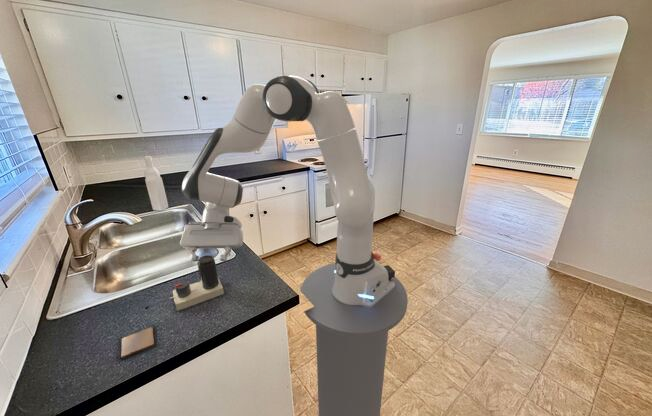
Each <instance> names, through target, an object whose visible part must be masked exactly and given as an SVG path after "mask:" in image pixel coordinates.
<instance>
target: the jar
mask: <svg viewBox="0 0 652 416" xmlns="http://www.w3.org/2000/svg"><path fill="white" fill-rule="evenodd" d="M196 265H197V269H198V274H199V279H200V281H201V283H202V288H203V289H206V290H209V289H213V288H215V287H217V286H218V284H219V281H220V279H219V280H218V278H219V275H218V270H217V265H216V259H215V258H214V257H213V256H212V255H209V254H208V255H203V256H200V257H199V259H198V261H197V262H196Z"/></svg>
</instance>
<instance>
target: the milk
mask: <svg viewBox="0 0 652 416" xmlns="http://www.w3.org/2000/svg"><path fill="white" fill-rule="evenodd" d="M144 181H145V185H146V189H147V194H148V196H149V200H150V205H151V208H152V211H157V212H158V211H159V212H162V211H164V210H166V209H169V201H168V198H167V194H166V190H165V186H164V185H165V184H164V182H163V177H161V176H160V177H159V176H157V174H156V173H148V177H147V178H145V179H144Z"/></svg>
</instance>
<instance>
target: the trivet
mask: <svg viewBox="0 0 652 416" xmlns="http://www.w3.org/2000/svg"><path fill="white" fill-rule="evenodd" d="M153 346H155V337H154V328H153V326H151V327H148V328H144V329H142V330H140V331H137V332H134V333H132V334H130V335H127V336H124V337H121V350H120V358H121V359H125V358H127V357H129V356H133V355H134V354H137V353H139V352H141V351H145V350H147V349H149V348H151V347H153Z"/></svg>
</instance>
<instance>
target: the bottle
mask: <svg viewBox="0 0 652 416" xmlns="http://www.w3.org/2000/svg"><path fill="white" fill-rule="evenodd" d="M144 161H145V166H146V169H145V170H144V178H145V179H146V178H147V177H148V173H156V174H157V176H159V177H161V174H160V171H159V170H158V169H157V168H156V167H155V166H154V162H153V157H152V156H151V155H145V156H144Z"/></svg>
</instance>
